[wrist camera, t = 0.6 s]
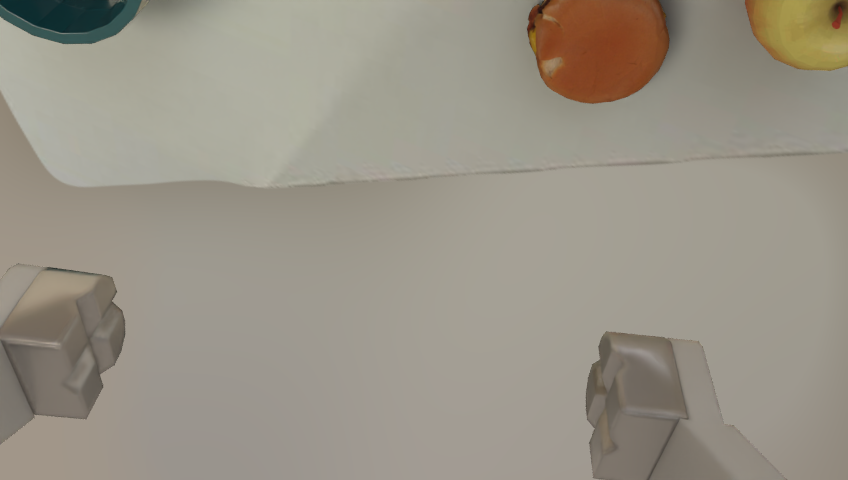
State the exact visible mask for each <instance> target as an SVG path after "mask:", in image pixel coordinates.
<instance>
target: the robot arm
mask: <svg viewBox="0 0 848 480" xmlns="http://www.w3.org/2000/svg"><path fill="white" fill-rule="evenodd" d="M116 293H117V290H116V287H115V284H114V281H113V278H112V277H110V276H107V275H102V274H94V273H87V272H79V271H73V270H66V269H58V268H51V267H40V266H33V265H25V264H16V265H14V266H13V267H11V268H9V269H8V270H7V272H6V273H5V274H4V275H3V277H2V278H1V279H0V444H1V443H3V442H4V441H5V440H7V439H8V438H9V437H10V436H12V435H13V434H14V433H16V432H17V431H18V430H19V429H21V428H22V427H23V426H24V425H26V424H27V423H28V422H29V421H31V420H32V419H33V418H34V414H35V415H46V416H56V417H68V418H79V419H87V417H88V415H89V413H90V411H91V409H92V407H93V405H94V404H95V402H96V399H97V398H98V396H99V394H100V392H101V390H102V388H103V384H102V380H101V377H100V374H101V373H103V372H104V371H106V370H107V369H109V368H111V367H112V366H113V365H115V363H116V361H117V359H118V357H119V354H120V353H121V350H122V346H123V341H124V337H125V320H124V316H123V312H122V310H121V309H120V308H119V307H118V306H116V305H115V304H114V303H113V302H112V300H113V298H114V296H115V295H116ZM599 356H600V360H599V361H597V362H595V363H594V364H592V367H591V370H590V373H589V377H588V382H587V389H586V413H587V420H588V421H589V422H590V424H591V425H592V426H593V427H594V428H595V429H594V432H593V434H592V437H591V440H590V442H589V444H590V453H591V462H592V470H593V478H595V479H603V480H787V479H786V478H785V477H784V476H783V475H782V474H781V473H780V472H779V471H778V470H777V469H776V468H775V467H774V466H773V465H772V464H771V463H770V462H769V461H768V460H767V459H766V458H765V457H764V456H763V455H762V454H761V453H760V452H759V451H758V450H757V449H756V448H755V447H754V446H753V445H752V444H751V443H750V442H749V441H748V440H747V439H746V438H745V437H744V436H743V435H742V434H741V433H740V431H739V430H738V429H737V428H736V427H734V426H733V425H728V424H724V422H723V418H722V415H721V411H720V407H719V404H718V400H717V397H716V393H715V389H714V386H713V382H712V378H711V375H710V371H709V367H708V364H707V360H706V357H705V353H704V350H703V346H702V345H701V344H700V343H699V341H692V340H682V339H673V338H664V337H655V336H646V335H635V334H626V333H616V332H605V334H604V335H603V336H602V338H601V341H600V344H599Z"/></svg>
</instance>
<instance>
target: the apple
mask: <svg viewBox="0 0 848 480" xmlns="http://www.w3.org/2000/svg"><path fill="white" fill-rule="evenodd" d="M745 5H746V9H747V13H748V17H749V20H750V24H751V28H752V31H753V34H754V36H755V37H756V38H757V40H758V41H759V42H760V43H761V44H762V45H763V47H764V48H765V49H766V50H767V51H768V52H769V53H770V54H771V56H772V57H773V58H774V59H776V60H778V61H780V62H783V63H785V64H787V65H790V66H792V67H795V68H797V69H804V70H828V71H831V70H835V69H839V68H842V67H846V66H848V0H745Z"/></svg>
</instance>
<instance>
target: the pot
mask: <svg viewBox="0 0 848 480" xmlns="http://www.w3.org/2000/svg"><path fill="white" fill-rule="evenodd" d="M149 1H150V0H0V17H2V18H3V19H4V20H6V21H8V22H9V23H11V24H13V25H15V26H17V27H19V28H20V29H22V30H24V31H26V32H28V33H30V34H31V35H34V36H37V37H40V38H44V39H48V40H51V41H55V42H59V43H62V44H92V43H96V42H98V41H101V40H104V39H106V38H109V37H112V36H114V35H116V34H118V33H119V32H120V31H121V30H122V29H123V28H124V27H125V26H126V25H127V24H128V23H129V22H130V21H131V20H133V19H134V18H135V17H136V15H137V14H138V13H139V12H140V11H141V10H142V9H143V8H144V7H145V6H146V5H147V4H148V2H149Z"/></svg>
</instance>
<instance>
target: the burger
mask: <svg viewBox="0 0 848 480" xmlns="http://www.w3.org/2000/svg"><path fill="white" fill-rule="evenodd" d="M665 18H666V14H665V13H664V12H663V9H662V6H661V4H660V2H659V0H544V2H543V3H542V5H541V6H539V4H537V5H536V6H534V7H533V9H532V10H531V12H530V14H529V18H528V20H529V25H528V28H527V31H528V37H529V40H530V45H531V47H532V49H533V51H534V53H535V55H536V59H537V65H538V69H539V72H540V75H541V78H542V79H543V81H544V82H545V84H546V85H547V86H548V87H549V88H550V89H552V90H553V91H555V92H556V93H558V94H560V95H562V96H564V97H566V98H568V99H572V100H575V101H579V102H583V103H592V104H594V103H602V102H611V101H615V100H618V99H621V98H625V97H627V96H629V95H631V94H633V93H635V92H637V91H638V90H640V89H641V88H642V87H644V86H645V85H646V84H647V83H648V82H649V81H650V80H651V79H652V77H653V76H654V75H655V74H656V73H657V72H658V70H659V69H660V67H661V65H662V63H663V61H664V59H665V56H666V54H667V51H668V48H669V33H668V29H667V27H666V21H665Z"/></svg>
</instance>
